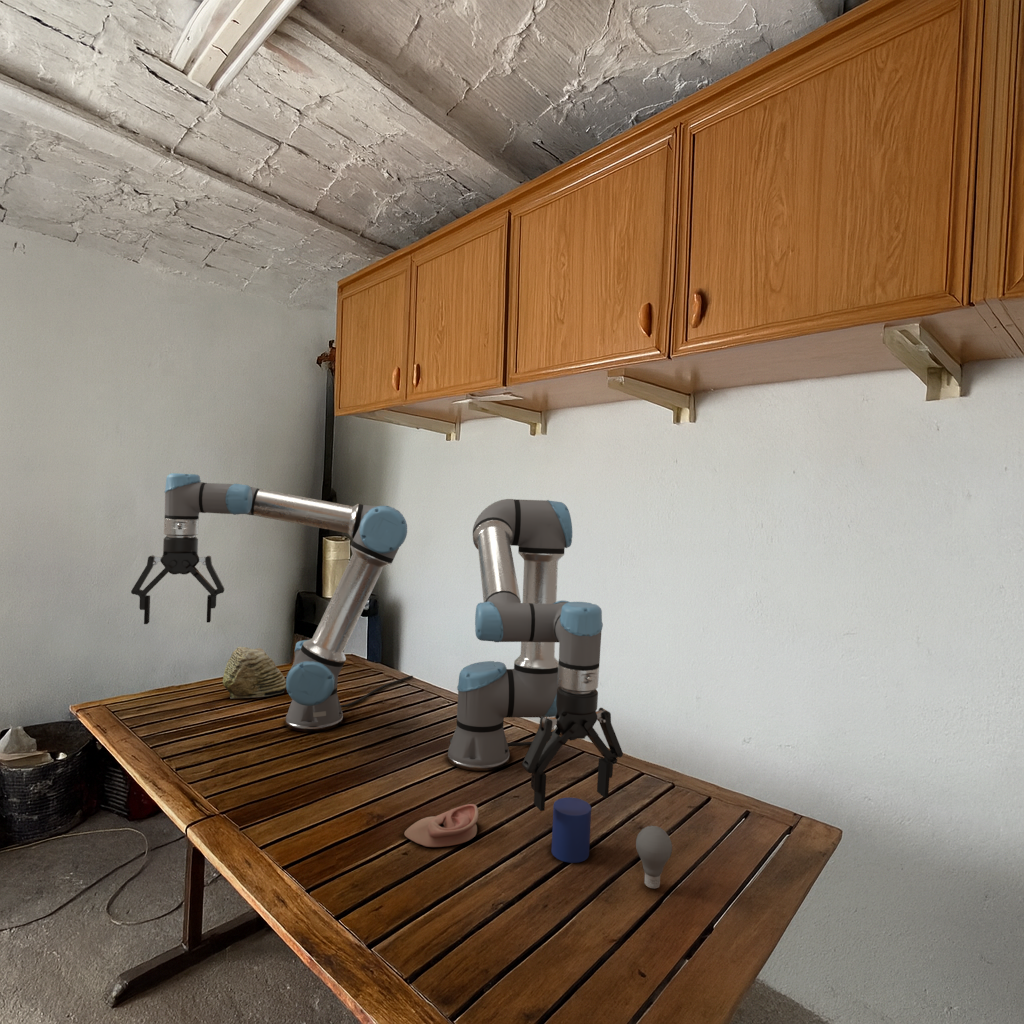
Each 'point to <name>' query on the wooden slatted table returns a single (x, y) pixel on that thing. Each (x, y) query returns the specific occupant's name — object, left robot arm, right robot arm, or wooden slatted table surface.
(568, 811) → the canister
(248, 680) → the fossil
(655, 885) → the light bulb
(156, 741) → the wooden slatted table surface
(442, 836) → the anatomical model
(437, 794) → the wooden slatted table surface
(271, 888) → the wooden slatted table surface
